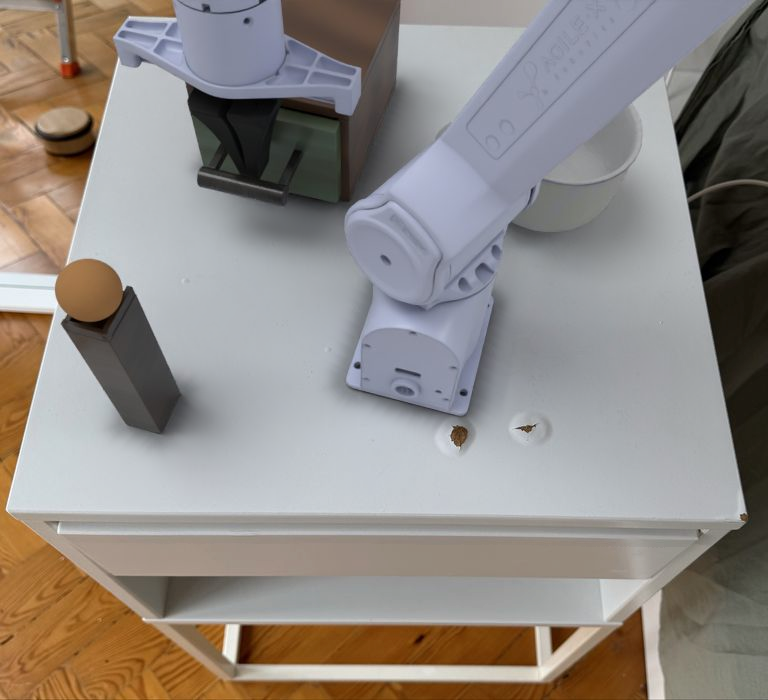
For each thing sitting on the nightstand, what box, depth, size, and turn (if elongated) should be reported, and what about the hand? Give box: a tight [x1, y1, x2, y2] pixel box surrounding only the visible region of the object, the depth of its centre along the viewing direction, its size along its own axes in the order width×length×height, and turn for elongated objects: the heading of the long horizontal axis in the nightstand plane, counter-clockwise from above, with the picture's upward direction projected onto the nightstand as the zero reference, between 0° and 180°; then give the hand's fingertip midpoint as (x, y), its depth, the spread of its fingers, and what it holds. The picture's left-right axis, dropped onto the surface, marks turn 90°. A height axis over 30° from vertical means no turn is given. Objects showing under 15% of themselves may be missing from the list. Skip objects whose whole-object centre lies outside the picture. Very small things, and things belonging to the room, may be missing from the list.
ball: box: [54, 258, 124, 322], centre depth 35 cm, size 3×3×3 cm
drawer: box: [189, 106, 342, 207], centre depth 53 cm, size 17×10×7 cm, turn 165°
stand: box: [60, 285, 182, 435], centre depth 41 cm, size 3×2×12 cm
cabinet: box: [184, 0, 402, 202], centre depth 55 cm, size 14×12×9 cm
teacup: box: [434, 102, 644, 233], centre depth 52 cm, size 14×11×8 cm
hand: (254, 168), depth 50 cm, fingers closed
